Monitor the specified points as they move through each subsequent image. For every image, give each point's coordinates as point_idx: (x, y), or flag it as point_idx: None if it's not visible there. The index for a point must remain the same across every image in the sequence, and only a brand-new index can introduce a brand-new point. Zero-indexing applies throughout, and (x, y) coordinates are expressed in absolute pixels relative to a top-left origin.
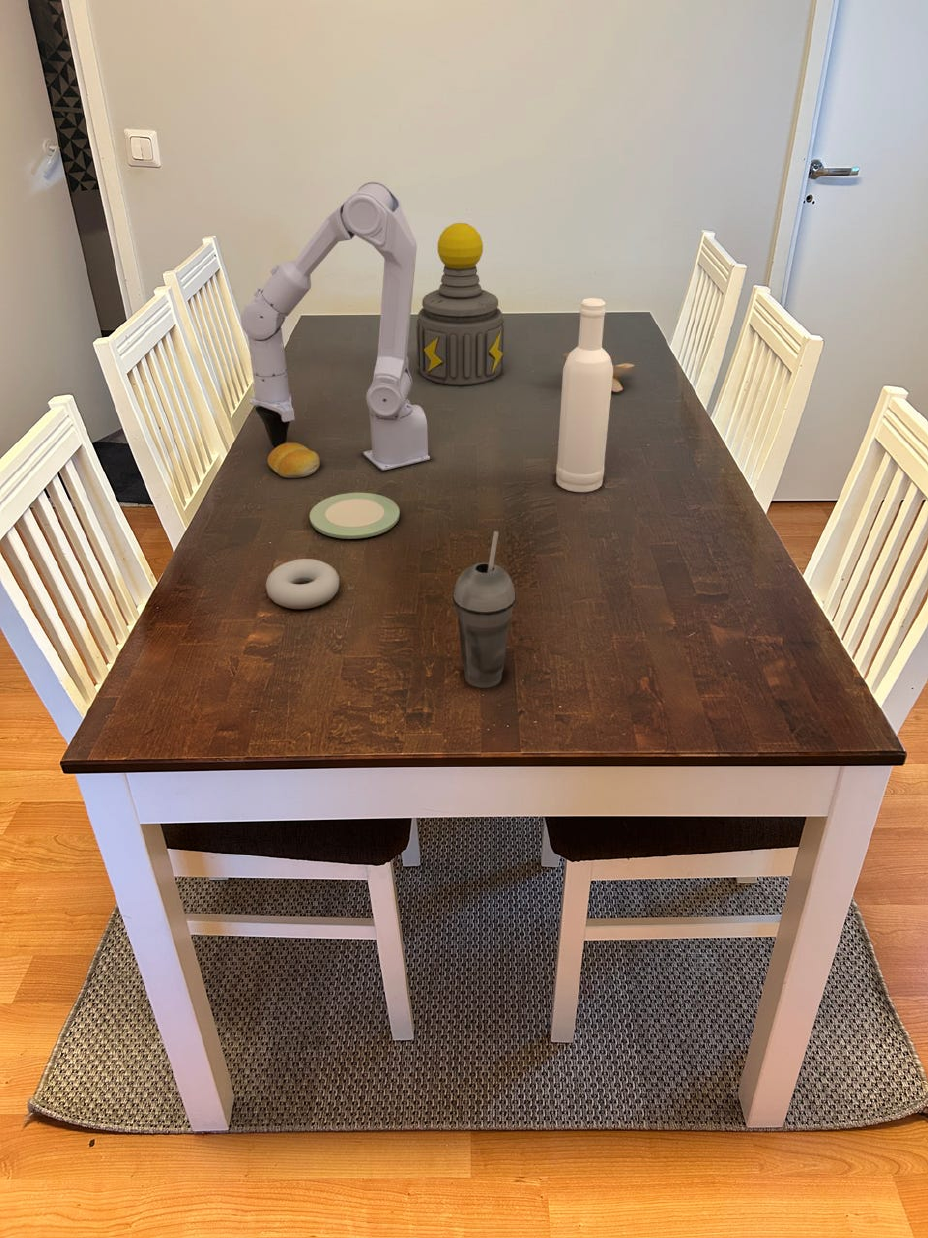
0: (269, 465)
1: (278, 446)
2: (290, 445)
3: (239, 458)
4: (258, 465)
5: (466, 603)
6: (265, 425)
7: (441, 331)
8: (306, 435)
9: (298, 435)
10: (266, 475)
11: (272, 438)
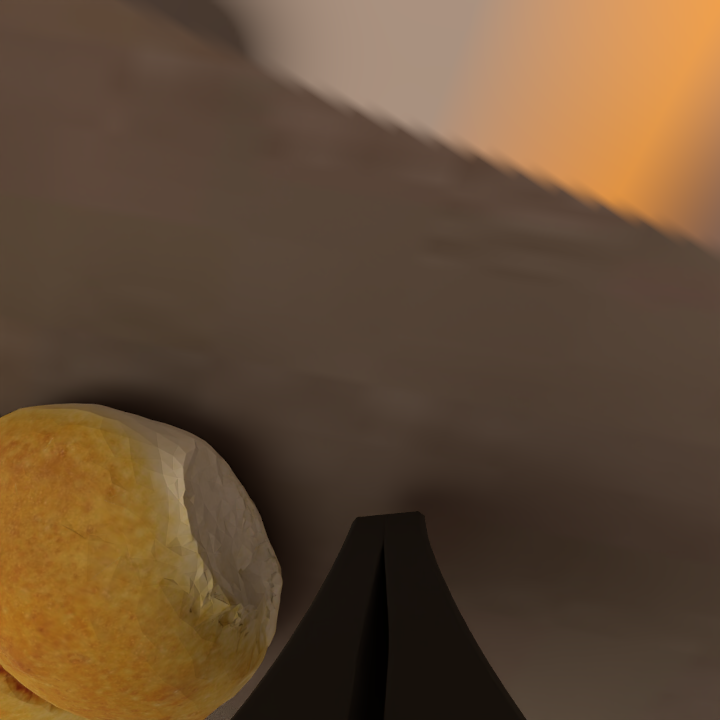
0: (23, 408)
1: (69, 599)
2: (43, 691)
3: (419, 174)
4: (211, 317)
5: None
6: (421, 682)
7: None
8: (622, 705)
9: (653, 669)
10: (8, 342)
11: (323, 589)
